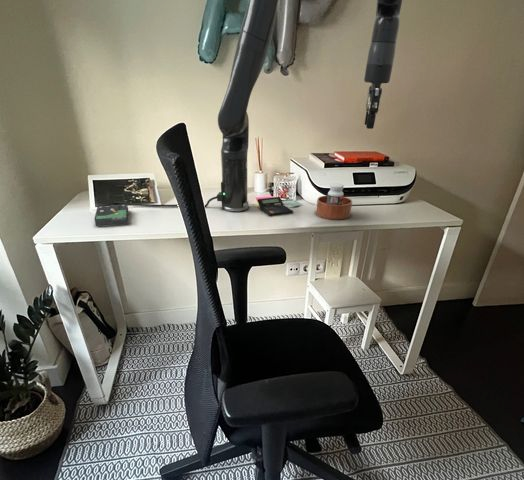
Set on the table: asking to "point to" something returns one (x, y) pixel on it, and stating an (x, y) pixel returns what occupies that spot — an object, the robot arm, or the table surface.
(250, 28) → the robot arm
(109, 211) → the disk drive
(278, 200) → the calculator
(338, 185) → the pill bottle
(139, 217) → the table surface
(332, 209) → the dish
